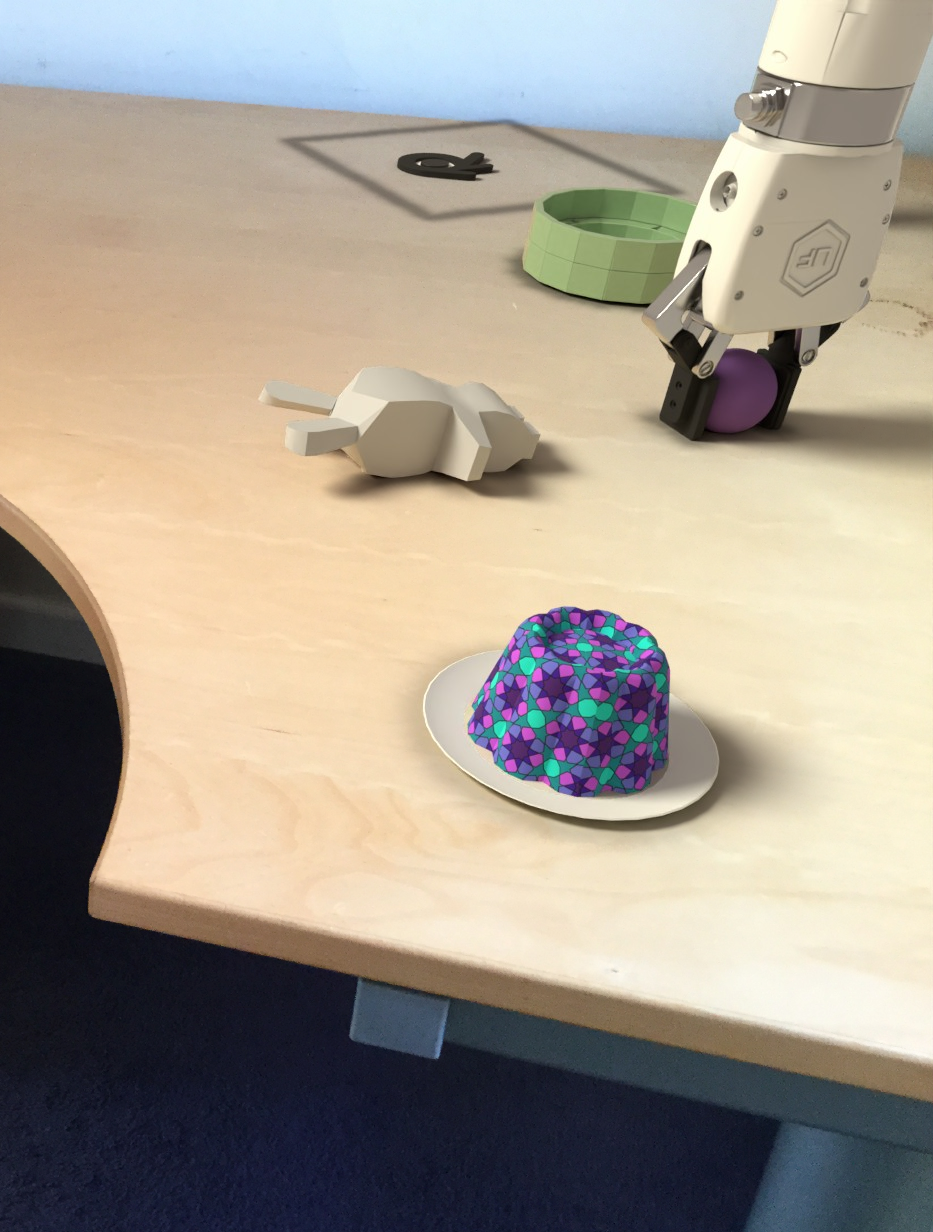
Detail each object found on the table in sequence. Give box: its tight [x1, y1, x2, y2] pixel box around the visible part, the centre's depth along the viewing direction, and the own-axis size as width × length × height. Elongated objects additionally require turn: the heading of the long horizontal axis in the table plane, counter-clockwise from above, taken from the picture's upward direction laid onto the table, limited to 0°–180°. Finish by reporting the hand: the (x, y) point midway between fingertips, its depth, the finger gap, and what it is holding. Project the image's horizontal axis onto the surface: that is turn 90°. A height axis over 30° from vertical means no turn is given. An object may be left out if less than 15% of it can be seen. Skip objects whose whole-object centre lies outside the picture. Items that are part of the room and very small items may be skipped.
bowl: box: [521, 186, 698, 305], centre depth 105 cm, size 13×13×5 cm
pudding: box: [422, 605, 720, 821], centre depth 59 cm, size 12×12×5 cm
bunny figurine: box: [257, 365, 541, 482], centre depth 80 cm, size 10×5×15 cm
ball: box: [704, 347, 778, 434], centre depth 84 cm, size 5×5×5 cm
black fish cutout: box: [396, 151, 494, 182], centre depth 129 cm, size 9×8×1 cm
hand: (719, 422), depth 85 cm, fingers closed on ball, 4 cm apart
